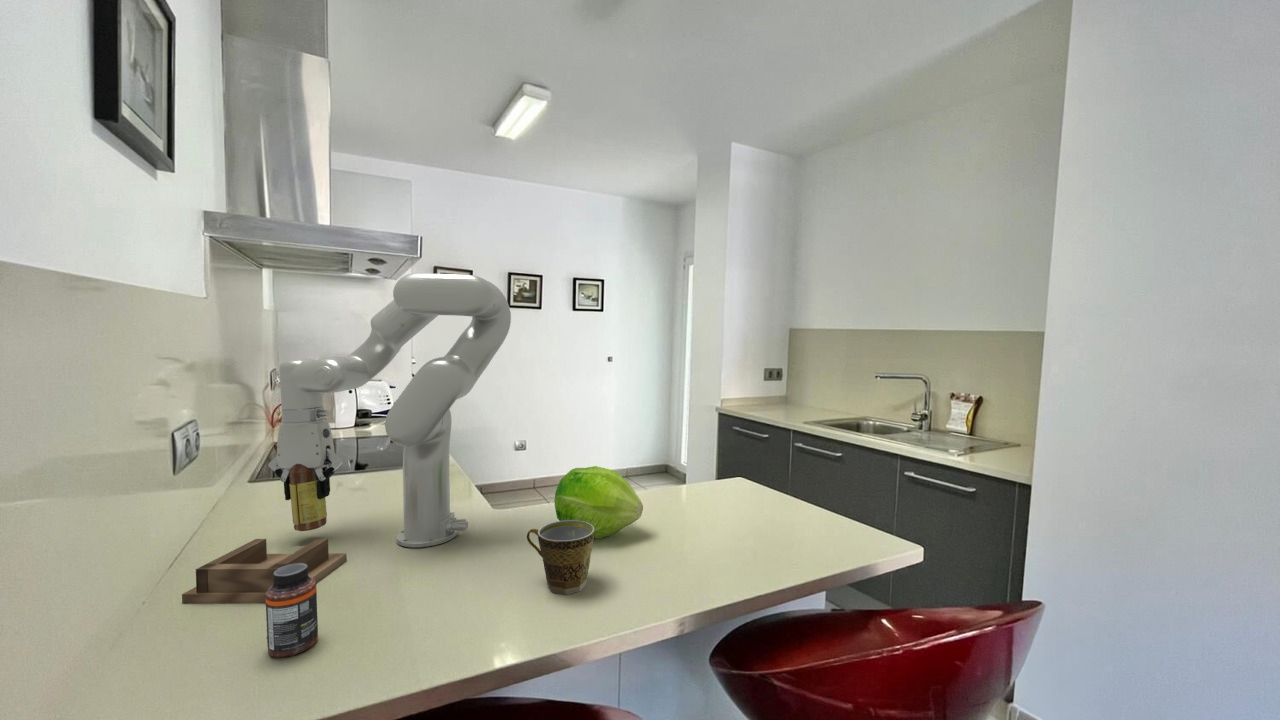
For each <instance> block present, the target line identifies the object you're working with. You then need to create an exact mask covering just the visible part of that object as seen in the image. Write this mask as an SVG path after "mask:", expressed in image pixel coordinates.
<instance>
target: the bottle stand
mask: <svg viewBox="0 0 1280 720" xmlns="http://www.w3.org/2000/svg"><path fill="white" fill-rule="evenodd" d="M267 551H268V549H267V538H255V539H253V540H251V541H249V542H247V543H245V544H243V545H241V546H239V547H237V548H235V549H233V550H231V551H229V552H228V553H225V554H223V555H221V556H219V557H217V558H216V559H213V560H211V561H210V562H207V563H205V564H203V565H202V566H201V565H200V566H199V567H197V568H196V569H195V584H196V585H195V587H193V588H191V589H189V590H187V591H186V592H183V593H182V594H181V603H182V604H266V592H267V590H268V589H269V588H270V587H271V586H272V585H273V584H274V582H273V574H274V572H275V571H276V570H277V569H278V568H280V567H283V566H286V565H289V564H295V563H304V564H306V565H307V566H308V576H309V577H312V578H313V579H315V581H316V584H317V583H319V582H320V581H321V580H322V579H324V578H325V577H327V576H328V575H329V574H331V573H332V572H334V571H335V570H337V569H339V568H340V567H341V566H342V565H343V564H345V563H346V562H347V561H348V560H347V559H348V556H347V555H348V553H346V552H345V553H344V552H343V553H342V552H341V553H340V552H338V553H333V552H332V553H329V538H317V539H315V540H313V541H312V542H310V543H307V545H304V546H303V547H301V548H300V549H298V550H296V551H295V552H293V553H268V552H267Z"/></svg>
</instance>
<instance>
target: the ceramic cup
mask: <svg viewBox="0 0 1280 720" xmlns="http://www.w3.org/2000/svg"><path fill="white" fill-rule="evenodd" d="M531 533H532V534H535V535H536V536H537V539H538V540H537V541H538V545H539V547H538V546H537V545H536V544H535V543H534V542H533V541H532V540H531V538H530V536H531V535H530V534H531ZM594 539H595V537H594V527H593V526H592V525H591V524H589V523H587V522H583V521H576V520H565V521H559V520H558V521H553V522H550V523H547V524H545V525H542V526H541V527H540V528H531V529H530V530H528V532H527V534H526V541H527V542H528V544H529V545H530V546H532V548H533V549H534V550H535V551H536V552H537V553H538V555H539V556H540V557H541V558H542V562H543V568H544V572H545V579H546V585H547V588H548V589H549V590H550V592H551V593H553V594H554V593H555V594H560V595H565V596H566V595H570V594H574V593H578V592H581V591H582V590H583V589H584V587H586V585H587V581H588V580H587V579H588V576H589V575H588V573H589V567H590V562H591V555H592V551H593V546H594V545H593V544H594Z"/></svg>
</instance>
